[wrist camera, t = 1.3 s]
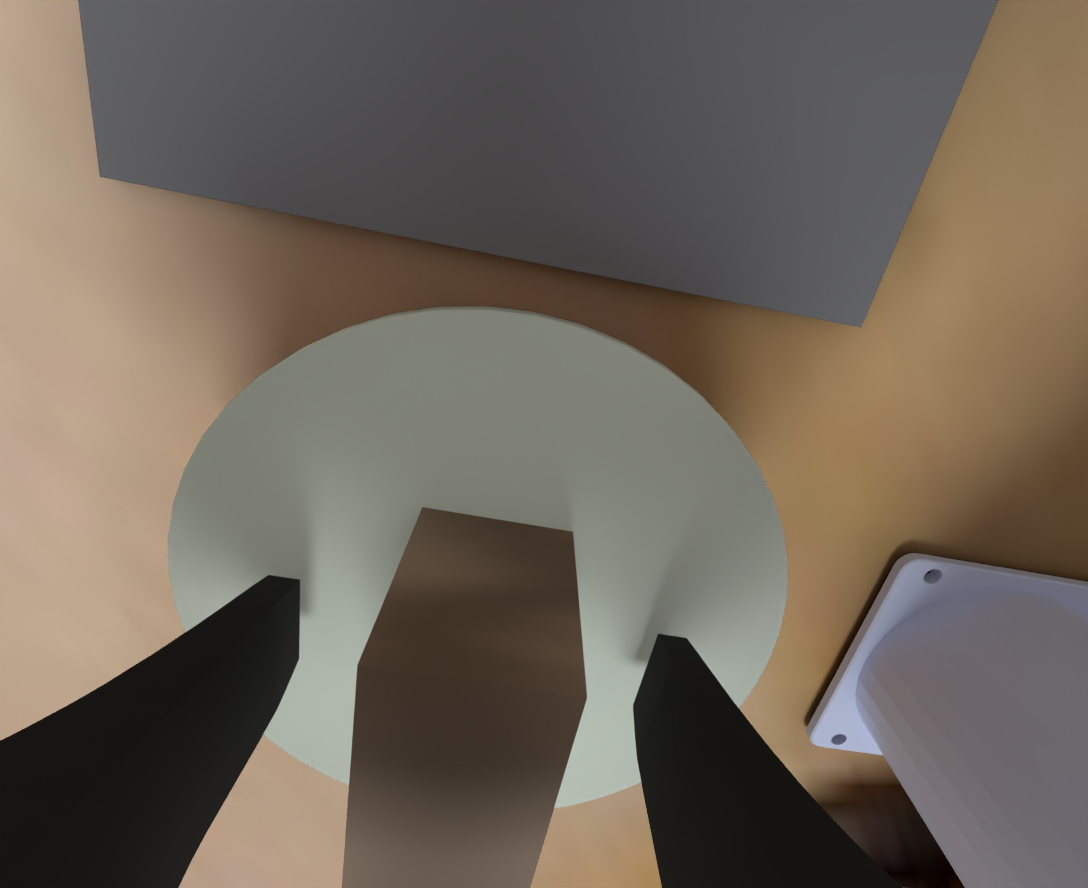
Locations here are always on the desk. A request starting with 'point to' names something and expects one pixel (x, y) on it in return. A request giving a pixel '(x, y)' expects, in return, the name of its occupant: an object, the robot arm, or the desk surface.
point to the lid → (478, 570)
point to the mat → (555, 126)
